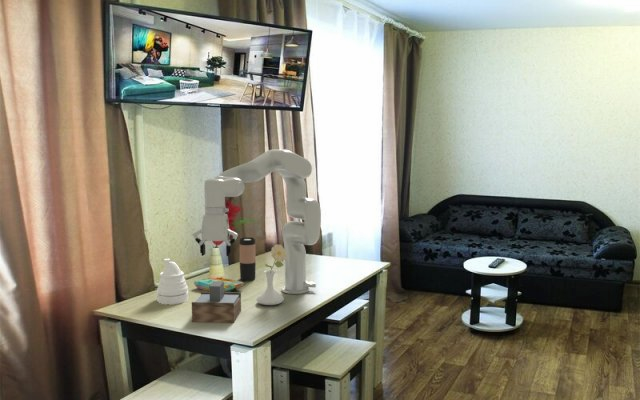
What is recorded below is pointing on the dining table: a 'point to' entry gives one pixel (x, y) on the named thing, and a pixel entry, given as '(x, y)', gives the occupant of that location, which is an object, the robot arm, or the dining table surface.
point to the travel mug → (247, 259)
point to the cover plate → (225, 300)
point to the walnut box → (216, 310)
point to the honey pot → (172, 285)
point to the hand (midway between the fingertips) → (215, 255)
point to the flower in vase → (270, 293)
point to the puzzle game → (206, 282)
